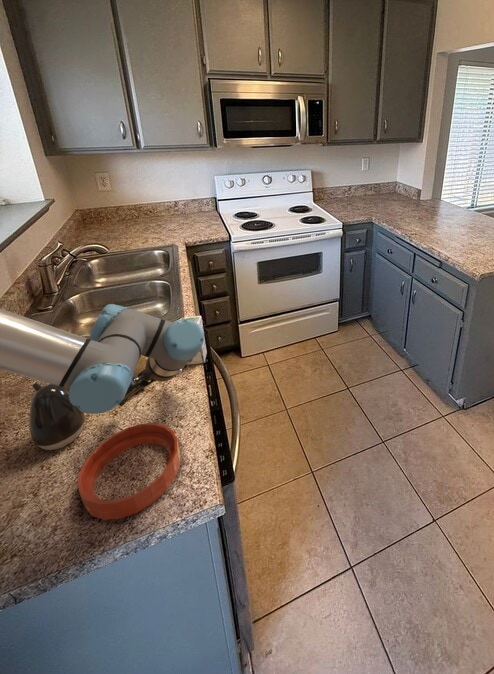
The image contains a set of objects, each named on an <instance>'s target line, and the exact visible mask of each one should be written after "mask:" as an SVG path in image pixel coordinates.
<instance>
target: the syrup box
mask: <svg viewBox="0 0 494 674" xmlns="http://www.w3.org/2000/svg"><path fill="white" fill-rule="evenodd" d="M182 319H189V320H193V321H195V322H196V323H198V324H199V325H200V327H201V328H202V330H203V333H204V334H205V332H204V325H203V318H202V315H194V316H193V315H192V316H184V317H181V319H180V320H182ZM207 355H208V351H207V345H206V339H205V337H204V342H203V345H202V347H201V348H200V350H199V352H198V353H197V355H196V356H195V357H194V358H193V360H192V361H191V362H188V363H187V364H186V365H187V366H189V365H199V364H205V363H206V358H207Z"/></svg>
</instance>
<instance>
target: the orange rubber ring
mask: <svg viewBox="0 0 494 674" xmlns="http://www.w3.org/2000/svg"><path fill="white" fill-rule="evenodd" d="M147 444H154V445H159V446H162V447H163V448H165V449H166V450H167V451H168V453H169V459H168V462H167V465H166V467H165V469H164V470H163V471H162V473H161V474H160V475H159V476H157V478H155V479H154V480H153V481H152V482H151V483H149V484H148V486H146V487H144V488H142V489H140V490H139V491H137V492H135V493H134V494H132V495H129V496H126V497H122V498H119V499H116V500H115V499H114V500H103V499H101V498H99V497H98V496H97V495H96V493H95V487H96V484H97V483H96V482H97V480H98V478H99V476H100V475H101V473H102V471H103V470H104V469H105V468H106V467H107V466H108V464H109V463H110V462H111V461H113V460H114V459H115V458H117V457H118V456H119V455H120V454H122V453H124V452H126V451H127V450H129V449H131V448H134V447H137V446H141V445H147ZM179 445H180V444H179V440H178V438H177V435H176V434H175V431H174V430H172V428H170V427H168V425H165V424H161V423H158V422H157V423H156V422H148V423H140V424H136V425H132V426H129V427H127V428H125V429H122V430H120V431H118V432H116V433H114V434H112V435H111V436H110V437H108V438H106V439H105V440H104V441H103V442H101V443H100V444H99V445H98V446H97V447H96V448H94V450H93V451H91V453H90V454H89V455H88V457H87V458H86V460H85V461H84V462H83V465H82V467H81V468H80V471H79V475H78V477H77V478H78V479H77V485H78V492H79V494H80V499H81V501H82V504H83V507H84V508H85V510H86V511H87V512H88V513H89V514H90V515H91V516H92V517H94V518H98V519H101V520H105V521H106V520H120V519H123V518H127V517H129V516H131V515H135V514H137V513H139V512H141V511H142V510H144V509H145V508H147V507H149V506H150V505H153V504H154V503H155V502H156V501H158V499H159V498H160V497H161V496H163V494H164V493H165V492H166V491H167V490H168V489H169V488H170V486H171V485H172V484H173V482H174V480H176V477H177V475H178V472H179V470H180V466H181V450H180V446H179Z"/></svg>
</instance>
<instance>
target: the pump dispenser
mask: <svg viewBox="0 0 494 674" xmlns="http://www.w3.org/2000/svg"><path fill="white" fill-rule="evenodd" d="M31 387H32V388H33V390H34V391H35V394H34V395H33V397H32V399H31V402H30V407H29V415H28V420H29V422H28V423H29V425H28V427H29V434H30V438H31V442H32V443H33V444H34V445H36V446H37V447H39V448H41V449H43V450H46V451H54V450H55V451H56V450H58V449H62V448H64V447H66V446H68V445H70V444H71V443H72V442H74V441H75V440H76V439H77V438H78V437H79V436H80V434H81V433H82V431H83V428H84V425H85V420H86V413H84V412H82V411H80V410H78V408H77V407H76V406H73V405H72V404H71V402H70V400H69V389H66V388H63V387H60V386H57V385H53V384H50V383H47V384H45V385H43V386H42V385H40V384H39V383H38V382H34V383H33V384H32V385H31Z"/></svg>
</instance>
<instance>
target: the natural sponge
mask: <svg viewBox="0 0 494 674" xmlns="http://www.w3.org/2000/svg"><path fill="white" fill-rule="evenodd" d="M147 359H148V358H147V357H145V356H142V355H141V356H140V359H139V361H138V364H137V367H136V370H135V373H134V376H135V377H136V378H137V377H138V374H139V373H141V372H142V371H143V370H145V369H146V361H147Z"/></svg>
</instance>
